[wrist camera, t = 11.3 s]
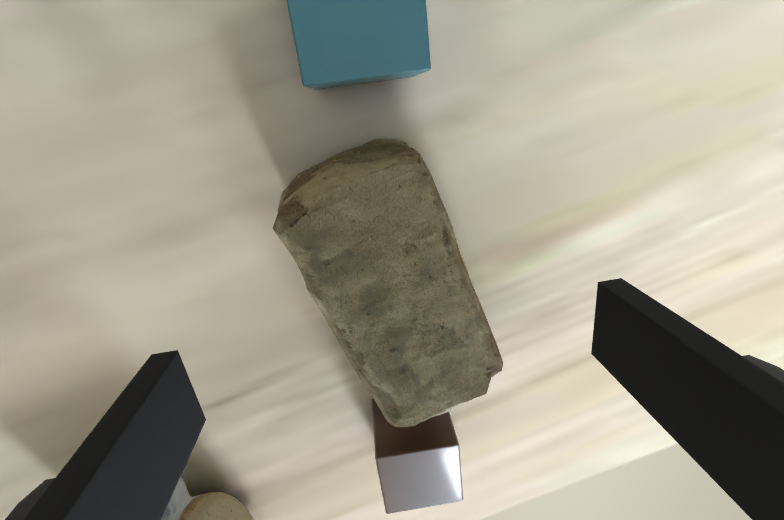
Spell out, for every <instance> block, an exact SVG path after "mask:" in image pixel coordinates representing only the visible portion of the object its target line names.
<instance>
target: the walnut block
mask: <svg viewBox="0 0 784 520" xmlns="http://www.w3.org/2000/svg"><path fill="white" fill-rule="evenodd" d="M372 410H373V426H374V443H375V459H376V464H377V469H378V474H379V479H380V484H381V490H382V495H383V500H384V505H385V510H386V513H387V514H389V513H395V512H400V511H406V510H412V509H418V508H423V507H429V506H435V505H441V504H446V503H452V502H458V501H462V500H463V492H462V479H461V465H460V452H459V443H458V440H457V436H456V433H455V430H454V427H453V423H452V420H451V417H450V413H449V411H448V412H447V413H444V414H441V415H437V416H434V417H431V418H429V419H427V420H425V421H423V422H420V423H418V424H417V425H415V426H410V427H395V426H393V425H391V424H390V423H389V422H388V421H387V420H386V419H385V417H384V415H383V414H382V412H381V410H380V408H379V407H378V405H377V403H376V402H375V400H374V398H373V399H372Z"/></svg>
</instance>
